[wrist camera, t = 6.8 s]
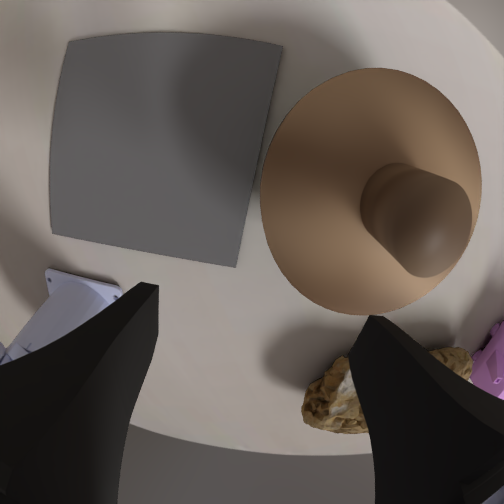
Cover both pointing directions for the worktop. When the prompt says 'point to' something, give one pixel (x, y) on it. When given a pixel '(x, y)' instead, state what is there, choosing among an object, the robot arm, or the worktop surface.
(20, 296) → the worktop surface
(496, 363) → the teapot
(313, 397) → the sponge
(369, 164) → the lid
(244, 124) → the mat
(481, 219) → the worktop surface
